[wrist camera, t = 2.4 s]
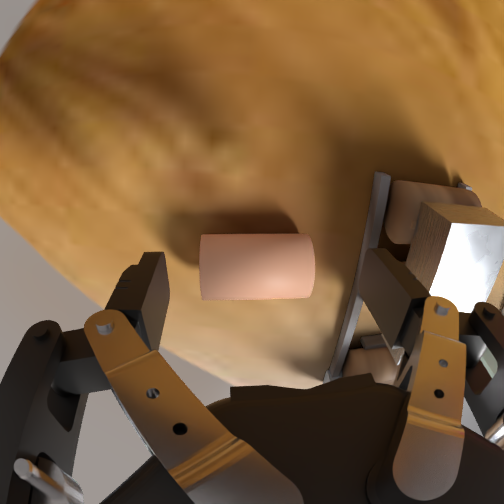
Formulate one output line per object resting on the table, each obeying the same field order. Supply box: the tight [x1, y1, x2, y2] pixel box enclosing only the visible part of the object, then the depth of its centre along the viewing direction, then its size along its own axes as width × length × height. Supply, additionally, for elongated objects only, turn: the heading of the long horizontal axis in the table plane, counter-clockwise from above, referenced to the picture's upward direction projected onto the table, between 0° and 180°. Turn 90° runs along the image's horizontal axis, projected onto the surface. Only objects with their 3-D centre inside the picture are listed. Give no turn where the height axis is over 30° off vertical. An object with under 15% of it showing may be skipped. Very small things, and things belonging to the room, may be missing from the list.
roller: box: [199, 234, 315, 300], centre depth 19 cm, size 4×6×4 cm
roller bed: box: [329, 172, 482, 385], centre depth 21 cm, size 19×8×4 cm, turn 179°
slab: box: [381, 201, 504, 365], centre depth 16 cm, size 10×6×3 cm, turn 179°
